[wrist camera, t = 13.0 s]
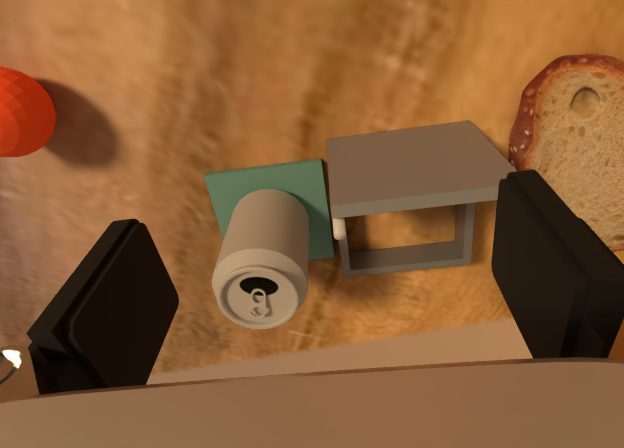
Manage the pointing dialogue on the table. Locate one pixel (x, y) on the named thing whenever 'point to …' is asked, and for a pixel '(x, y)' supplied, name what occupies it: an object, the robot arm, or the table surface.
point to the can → (263, 260)
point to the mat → (285, 177)
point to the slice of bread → (577, 138)
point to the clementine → (23, 114)
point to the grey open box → (412, 188)
